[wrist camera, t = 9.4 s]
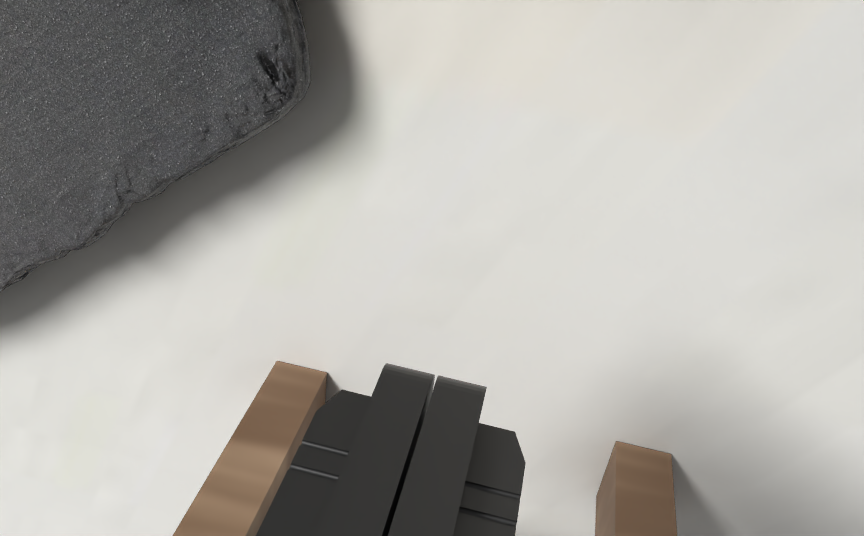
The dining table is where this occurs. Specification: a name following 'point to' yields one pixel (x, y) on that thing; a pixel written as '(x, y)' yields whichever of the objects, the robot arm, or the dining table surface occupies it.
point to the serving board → (128, 106)
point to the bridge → (289, 420)
